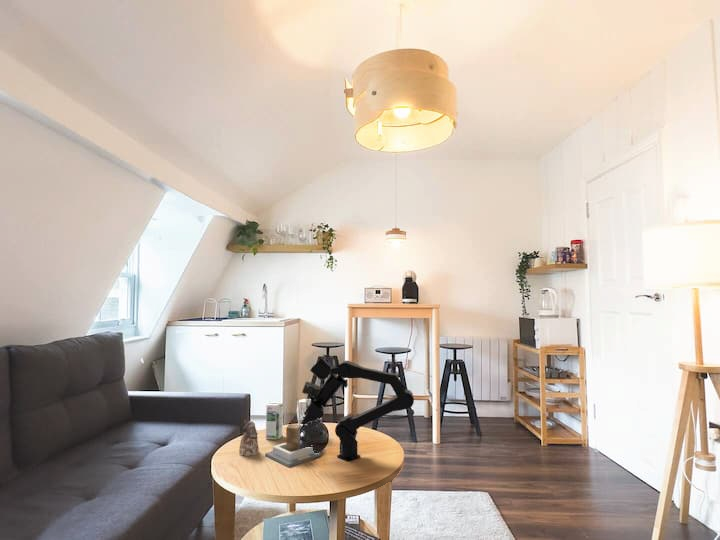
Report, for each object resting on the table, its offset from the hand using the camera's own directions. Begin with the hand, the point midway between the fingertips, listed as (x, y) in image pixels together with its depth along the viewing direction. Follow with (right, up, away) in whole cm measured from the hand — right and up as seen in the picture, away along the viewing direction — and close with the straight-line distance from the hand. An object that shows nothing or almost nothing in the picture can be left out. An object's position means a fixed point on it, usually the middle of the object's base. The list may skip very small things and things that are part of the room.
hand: (303, 419), depth 156 cm
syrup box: (-15, -15, +19) cm, 29 cm away
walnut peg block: (-4, -12, -2) cm, 13 cm away
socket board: (-4, -13, -2) cm, 14 cm away
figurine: (-22, -14, +1) cm, 26 cm away
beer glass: (-3, -15, +22) cm, 27 cm away
